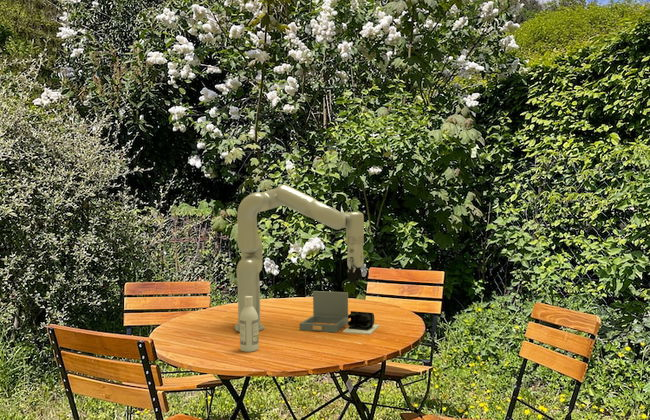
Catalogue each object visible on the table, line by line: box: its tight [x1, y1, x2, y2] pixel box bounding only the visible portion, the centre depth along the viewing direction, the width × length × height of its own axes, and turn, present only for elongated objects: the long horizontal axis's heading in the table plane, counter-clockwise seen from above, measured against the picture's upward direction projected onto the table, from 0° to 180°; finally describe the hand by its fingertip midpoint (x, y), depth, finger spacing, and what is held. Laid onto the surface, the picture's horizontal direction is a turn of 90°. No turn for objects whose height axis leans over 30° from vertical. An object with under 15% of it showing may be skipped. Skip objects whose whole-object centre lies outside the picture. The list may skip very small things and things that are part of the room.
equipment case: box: [299, 290, 349, 333], centre depth 240 cm, size 19×16×14 cm
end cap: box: [347, 310, 375, 330], centre depth 234 cm, size 10×7×7 cm
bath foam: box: [239, 296, 260, 353], centre depth 204 cm, size 7×7×20 cm
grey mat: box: [342, 323, 380, 336], centre depth 234 cm, size 16×12×1 cm
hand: (354, 280), depth 235 cm, fingers open, 9 cm apart
